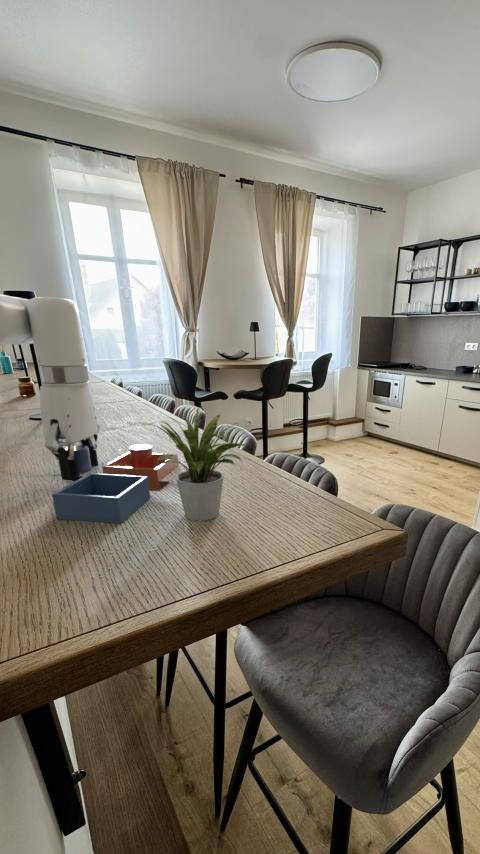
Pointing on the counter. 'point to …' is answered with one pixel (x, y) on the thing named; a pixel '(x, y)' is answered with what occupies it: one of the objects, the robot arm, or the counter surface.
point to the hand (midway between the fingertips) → (81, 473)
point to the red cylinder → (142, 456)
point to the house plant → (200, 469)
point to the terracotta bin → (143, 469)
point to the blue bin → (101, 498)
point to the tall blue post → (82, 458)
